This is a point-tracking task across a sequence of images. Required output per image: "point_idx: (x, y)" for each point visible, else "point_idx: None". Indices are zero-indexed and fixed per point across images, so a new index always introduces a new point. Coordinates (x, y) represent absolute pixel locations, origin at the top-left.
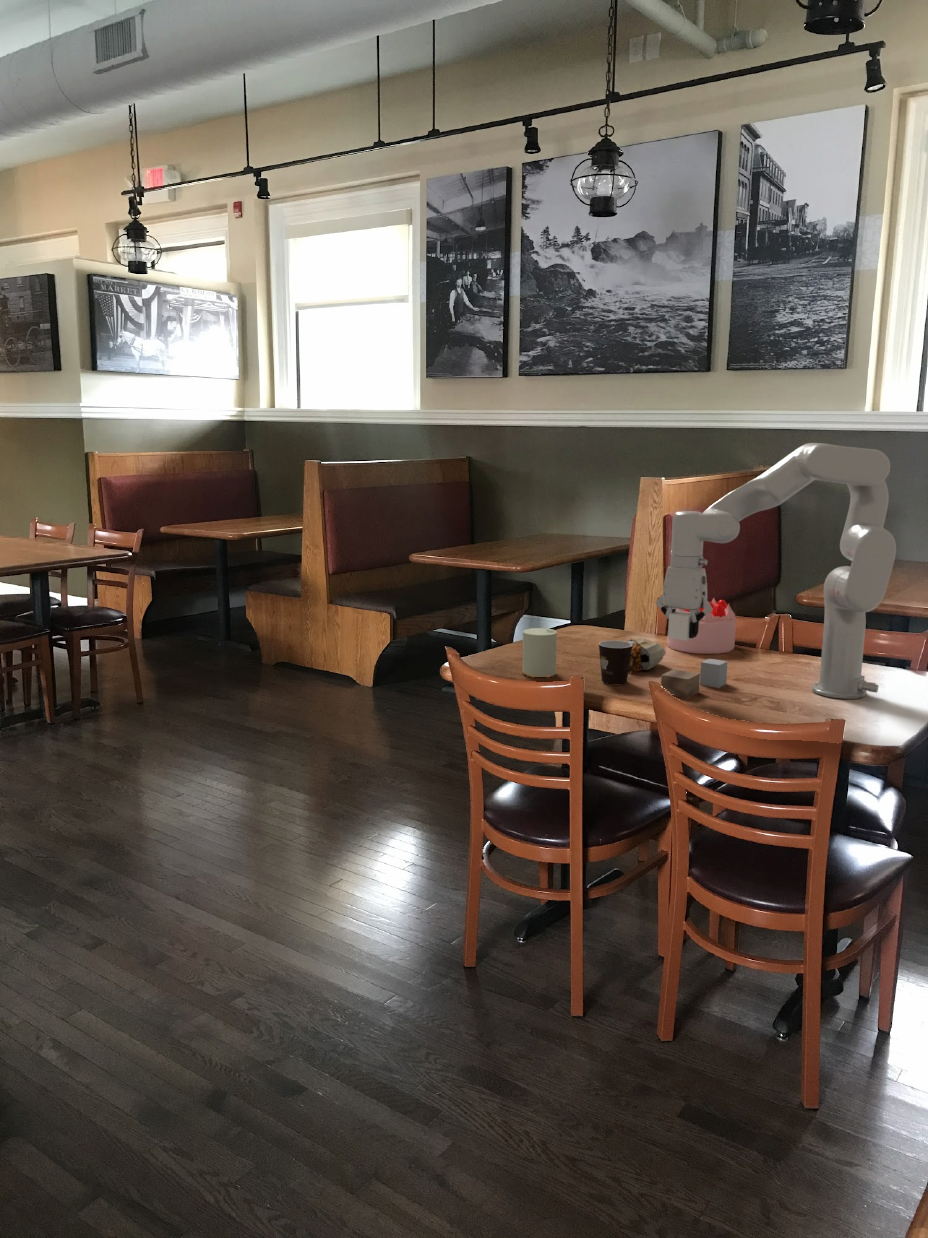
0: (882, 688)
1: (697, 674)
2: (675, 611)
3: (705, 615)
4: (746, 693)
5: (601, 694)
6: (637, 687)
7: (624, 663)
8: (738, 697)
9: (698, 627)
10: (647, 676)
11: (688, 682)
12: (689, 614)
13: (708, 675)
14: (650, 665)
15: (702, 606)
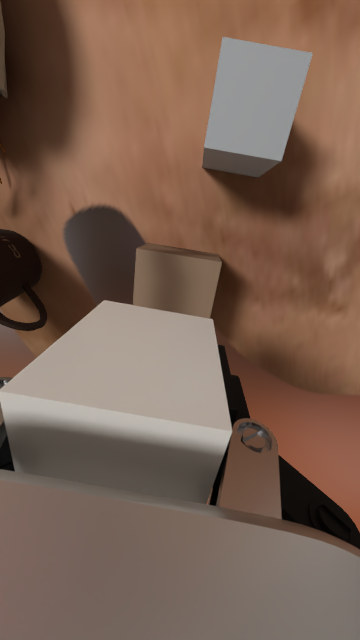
0: None
1: (217, 276)
2: (1, 434)
3: (338, 508)
4: (341, 198)
5: None
6: (79, 282)
7: (5, 296)
8: (318, 252)
9: (244, 397)
10: (41, 152)
11: None
12: (176, 494)
13: (231, 164)
14: (4, 80)
15: (348, 565)
